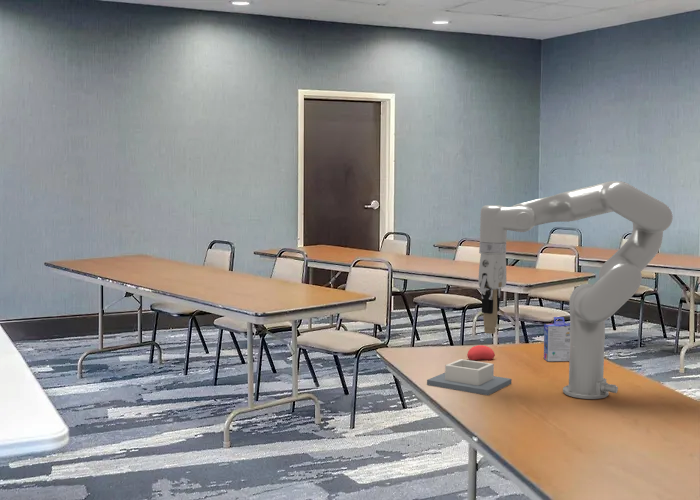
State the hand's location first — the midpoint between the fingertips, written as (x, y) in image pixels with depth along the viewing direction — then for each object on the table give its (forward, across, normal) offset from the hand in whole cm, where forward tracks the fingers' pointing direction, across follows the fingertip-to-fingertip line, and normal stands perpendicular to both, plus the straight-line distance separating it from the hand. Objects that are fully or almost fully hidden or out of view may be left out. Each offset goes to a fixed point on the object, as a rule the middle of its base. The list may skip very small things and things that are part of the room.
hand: (490, 311), depth 235 cm
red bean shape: (+24, +37, +18) cm, 48 cm away
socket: (+24, +5, +8) cm, 25 cm away
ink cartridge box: (+23, +51, -4) cm, 56 cm away
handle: (+6, 0, 0) cm, 6 cm away
